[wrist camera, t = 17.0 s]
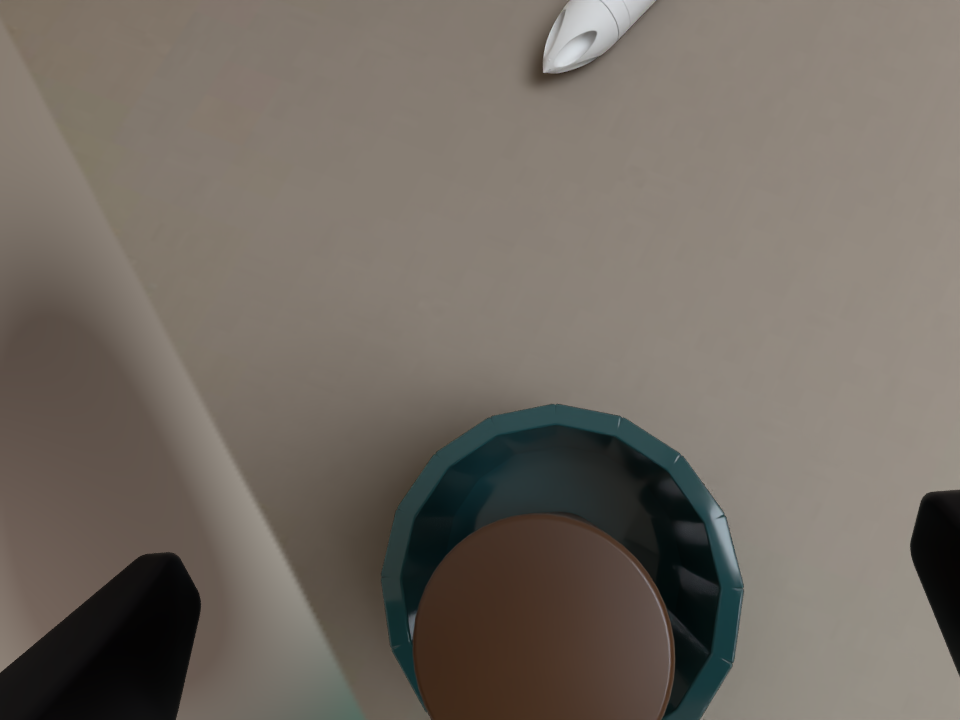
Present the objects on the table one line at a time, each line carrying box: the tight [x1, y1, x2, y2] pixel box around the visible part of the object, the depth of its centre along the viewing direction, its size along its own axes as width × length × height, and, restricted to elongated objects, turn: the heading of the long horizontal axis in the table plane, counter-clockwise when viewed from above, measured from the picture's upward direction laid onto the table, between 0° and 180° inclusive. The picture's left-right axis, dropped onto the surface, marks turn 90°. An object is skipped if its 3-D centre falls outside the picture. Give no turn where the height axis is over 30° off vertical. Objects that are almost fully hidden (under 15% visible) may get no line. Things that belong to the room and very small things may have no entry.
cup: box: [381, 404, 744, 720], centre depth 18 cm, size 8×8×6 cm
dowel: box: [413, 512, 675, 720], centre depth 14 cm, size 3×3×13 cm
